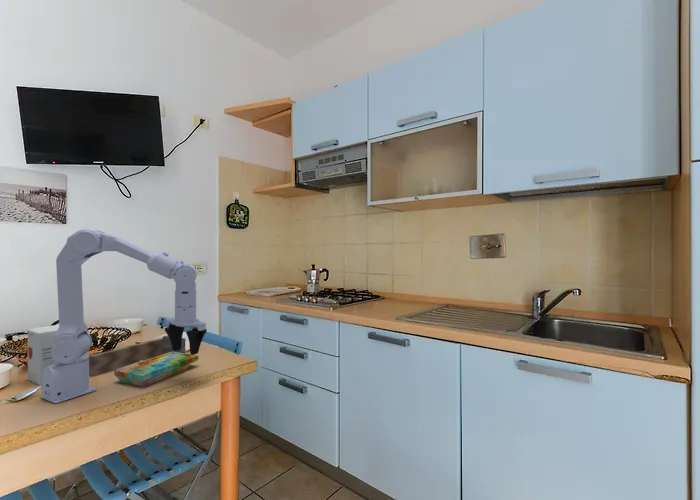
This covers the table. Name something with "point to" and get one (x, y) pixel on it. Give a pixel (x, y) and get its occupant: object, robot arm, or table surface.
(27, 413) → the table surface
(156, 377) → the puzzle game
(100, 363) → the shelf corner
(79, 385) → the robot arm
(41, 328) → the supplement box
